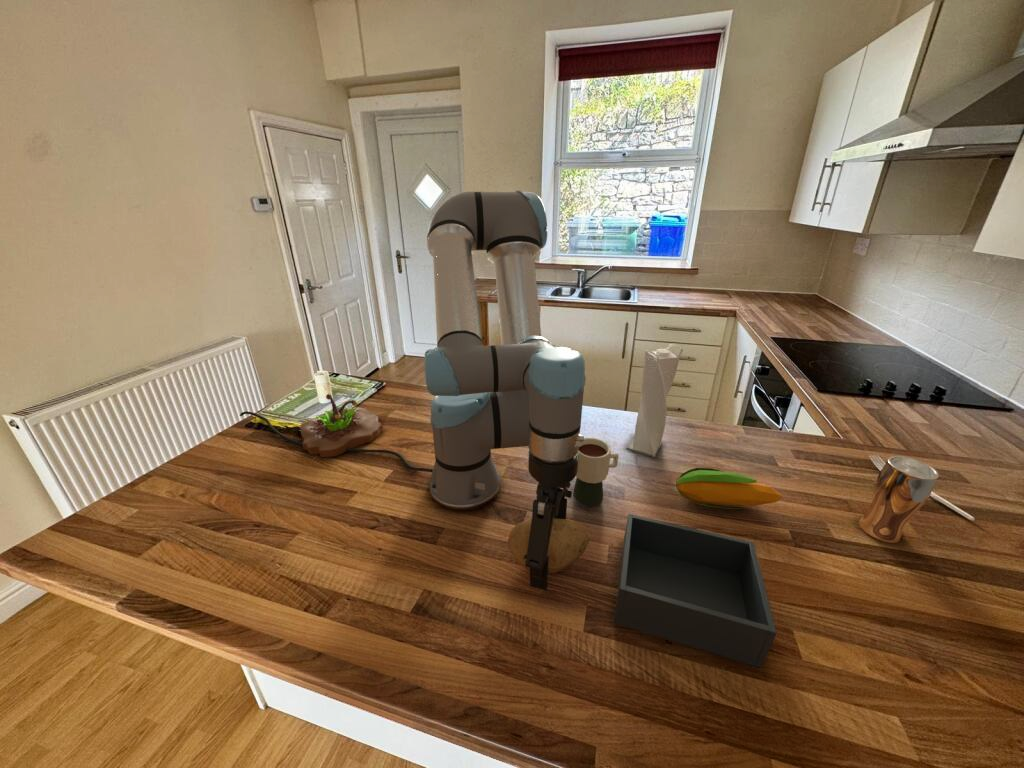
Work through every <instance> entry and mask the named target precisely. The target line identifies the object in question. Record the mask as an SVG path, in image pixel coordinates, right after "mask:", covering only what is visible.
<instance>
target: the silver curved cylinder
mask: <svg viewBox="0 0 1024 768" xmlns="http://www.w3.org/2000/svg"><path fill="white" fill-rule="evenodd" d="M885 463H886V464H885V465H884V467H883V468H882V470H881V471H880V472H879V473H878V475H877V476H876V477H877V478H876V479H875V482H874V485H873V489H872V495H871V500H870V504H869V507H868V510H867V511H866V512H865V514H863V515H862V517H861V518H860V519H859V521H858V525H859V527H860V529H861V530H862V531H863V532H864V533H866V534H867V535H868V536H870V537H872V538H874V539H876V540H878V541H881V542H884V543H890V544H895V543H898V542H900V541H901V538H902V534H903V530H904V527H905V526H906V525H907V522H908V521H909V520H910V519H911V518H912V517H913V516H914V515H915V514H917V512H918V511H919V510H921V508H922V507H923V506H924V504H925V503H926V502H927V500H928V499H929V497H931V496H930V494H931V492H933V490H934V488H935V485H936V483H937V480H938V478H939V477H940V475H939V472H938V471H937V470H936V469H935V468H934V467H933V466H930V465H929V464H927V463H925V462H923V461H921V460H918V459H916V458H913V457H909V456H904V455H892V456H889V457H888V459H887V461H886V462H885Z"/></svg>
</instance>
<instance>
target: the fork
mask: <svg viewBox="0 0 1024 768" xmlns="http://www.w3.org/2000/svg"><path fill="white" fill-rule="evenodd" d="M869 458H870V460H871V462H872V463H873V464H874V466H875V467H876V468H877V469H878V471H880V472H881V470H882V468H883V467H884V465H885V464H886V462H885V461H884V460H883V459H882V458H881V456H880V455H879V454H878V453H877V454H874V455H873V454H871V455H869ZM929 497H931V498H933V499H935V500H936V501H938V502H940V503H942V504H943V505H945V507H948V508H950V509H951V510H953V511H955V512H957V513H958V514H959V515H961V516H963V517H964V518H966V519H967V520H969V521H970V522H974V521H976V519H975V517H973V516H972V515H970V514H969V513H968V512H966V511H965V510H962V509H961V508H960V507H958V506H956V505H955V504H953V503H951V502H949V501H948V500H946V499H945V498H944V497H942V496H939V495H938V494H937V493H935V492H933V491H932V492H931V494H930V496H929Z"/></svg>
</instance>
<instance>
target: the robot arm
mask: <svg viewBox="0 0 1024 768" xmlns="http://www.w3.org/2000/svg"><path fill="white" fill-rule="evenodd" d="M547 227H548V221H547V213H546V209H545V206H544V203H543V201H542V198H541V197H540V196H539V195H537V193H535V192H532V191H521V190H514V191H464V192H460V193H458V194H454V195H453V196H451V197H450V198H448V199H447V200H445V201H444V203H442V204H441V205H440V206H439V207H438V209H437V210H436V211H435V213H434V214H433V216H432V218H431V219H430V223H429V226H428V228H427V234H426V237H427V238H426V243H427V244H426V245H427V250H428V252H429V254H430V256H431V257H432V261H433V282H434V284H433V285H434V305H435V306H434V307H435V329H436V330H435V331H436V347H435V348H429V349H427V350H426V351H425V352H424V374H425V375H424V376H425V384H426V390H427V392H428V393H429V394H430V395H431V396H434V397H433V398H432V400H431V403H430V420H429V421H430V422H429V423H430V425H431V426H432V427H431V428H432V438H433V439H432V440H433V450H434V458H435V459H434V464H433V468H428V467H416V466H413V465H411V464H409V462H408V461H407V460H406V459H405V458H404V456H403V455H402V454H401V453H398V452H396V451H393V450H391V449H390V450H389V449H372V448H371V449H367V448H347V449H346V452H353V453H354V452H358V453H382V454H383V453H384V454H390V455H394V456H396V457H397V458H398V459H400V461H401V462H402V463H403V465H404V466H405V467H406V468H407V469H410V470H412V471H415V472H416V471H417V472H426V473H431V475H430V478H429V493H430V497H431V499H432V500H433V502H434V503H436V504H437V505H438V506H440V507H441V508H444V509H446V510H449V511H454V512H469V511H474V510H477V509H478V510H479V509H481V508H483V507H485V506H486V505H488V504H490V503H491V502H493V501H494V500H495V499H496V497H497V496H498V494H499V493H500V490H501V477H500V473H499V471H498V469H497V465H496V463H495V461H494V459H493V457H492V451H491V450H497V449H498V450H499V449H509V448H510V449H511V448H523V447H528V464H527V465H528V472H529V475H530V476H531V477H532V478H533V480H535V481H536V482H537V483H538V484H537V485H536V493H535V494H536V499H533V501H532V513H531V515H532V516H531V520H532V522H531V529H530V536H529V543H528V550H527V554H525V555H524V559H526V561H525V565H526V567H530V570H529V587H532V588H535V589H539V590H541V591H542V590H543V591H547V590H548V585H549V584H548V583H549V581H548V580H549V573H548V561H549V557H548V556H547V553H548V548H549V542H550V536H551V530H552V525H553V519H554V518H558V519H567V512H568V511H567V510H568V509H567V508H568V499H572V497H573V491H572V490H569V488H570V487H571V482H572V481H573V480H574V479H576V478H577V477H576V475H577V471H578V457H579V454H578V451H579V442H582V441H584V438H585V436H584V434H583V435H582V434H580V433H581V426H582V415H583V414H582V413H583V403H584V391H585V386H586V373H585V371H586V366H585V365H586V363H585V361H586V360H585V358H584V355H582V353H580V352H579V351H577V350H573V349H572V348H569V347H564V346H556V345H555V344H553V343H552V342H551V341H550V340H548V339H547V338H545V337H544V336H542V329H541V328H542V327H541V315H540V305H539V297H538V284H537V275H536V263H535V262H536V261H537V259H539V257H540V256H541V253H542V252H541V251H542V250H541V249H544V248H545V246H546V244H547V240H548V228H547ZM475 251H486V259H487V261H489V262H490V263H491V264H492V265H494V273H495V283H496V284H495V285H496V295H497V296H496V297H497V305H498V306H497V309H498V321H499V333H500V343H501V344H496V345H494V344H493V345H484V344H483V338H482V337H483V335H482V328H481V320H480V313H479V303H478V296H477V287H476V280H475V278H476V277H475V270H474V263H473V255H474V253H475ZM244 415H250V416H254V417H256V418H258V419H260V420H263V421H264V422H265V423H266V425H267V426H268V428H269V429H270V430H271V431H272V432H273V433H275V434H276V435H277V436H278V437H280V438H282V439H284V440H286V441H287V442H290V443H293V444H295V445H299V446H302V443H303V441H299V440H295V439H293V438H290V437H289V436H287V435H285V434H283V433H282V432H280V431H278V429H276V428H275V427H274V426H273V425H272V424H271V422H270V421H269V420H268V418H266V417H265V416H262V415H260V414H258V413H256V412H253V411H246V410H245V411H242V412H241V413H239V417H242V416H244Z"/></svg>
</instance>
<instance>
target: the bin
mask: <svg viewBox="0 0 1024 768" xmlns="http://www.w3.org/2000/svg"><path fill="white" fill-rule="evenodd" d="M621 551H622V552H621V561H620V570H619V577H618V585H617V594H616V603H615V610H614V619H613V623H614V624H616V625H618V626H619V625H620V626H623V627H626V628H630V629H632V630H635V631H638V632H643V633H645V634H649V635H652V636H655V637H658V638H662V639H665V640H668V641H671V642H674V643H677V644H681V645H685V646H688V647H691V648H693V649H698V650H701V651H704V652H707V653H711V654H713V655H717V656H720V657H723V658H726V659H730V660H733V661H736V662H740V663H743V664H746V665H750V666H751V667H752V666H753V667H756V668H759V669H762V667H763V665H764V662H765V660H766V658H767V655H768V653H769V651H770V649H771V647H772V645H773V643H774V640H775V638H776V636H777V628H776V625H775V621H774V616H773V612H772V609H771V605H770V601H769V598H768V594H767V593H768V592H767V589H766V586H765V581H764V577H763V572H762V568H761V566H760V561H759V558H758V553H757V550H756V545H755V542H754V541H751V540H746V539H743V538H737V537H734V536H728V535H724V534H720V533H717V532H716V533H715V532H712V531H707V530H702V529H698V528H693V527H689V526H685V525H680V524H677V523H673V522H667V521H664V520H663V521H662V520H658V519H654V518H650V517H645V516H640V515H636V514H632V513H627V519H626V525H625V531H624V537H623V544H622V550H621Z"/></svg>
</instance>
